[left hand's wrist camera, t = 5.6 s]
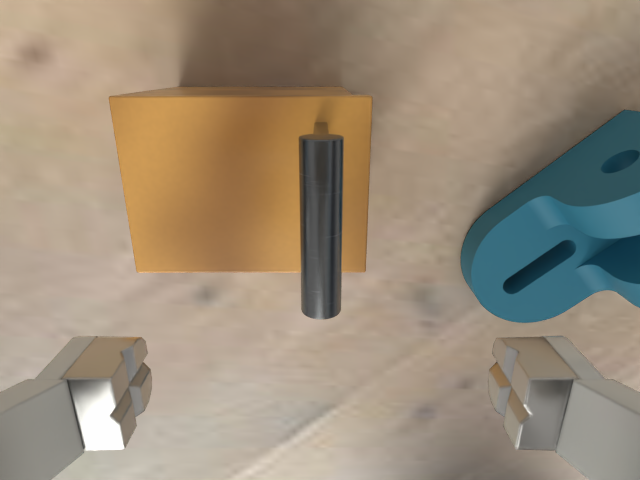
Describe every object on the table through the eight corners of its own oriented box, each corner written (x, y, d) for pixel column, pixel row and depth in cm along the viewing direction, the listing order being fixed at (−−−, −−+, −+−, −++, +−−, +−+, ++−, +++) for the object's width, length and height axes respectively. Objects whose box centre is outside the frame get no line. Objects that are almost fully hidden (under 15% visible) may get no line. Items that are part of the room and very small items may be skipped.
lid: (370, 94, 25) (395, 107, 17) (363, 264, 28) (381, 342, 20) (117, 94, 25) (20, 107, 17) (143, 264, 28) (74, 342, 20)
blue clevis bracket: (624, 109, 35) (741, 125, 26) (681, 207, 38) (806, 255, 28) (437, 247, 40) (475, 306, 30) (501, 326, 42) (555, 403, 33)
